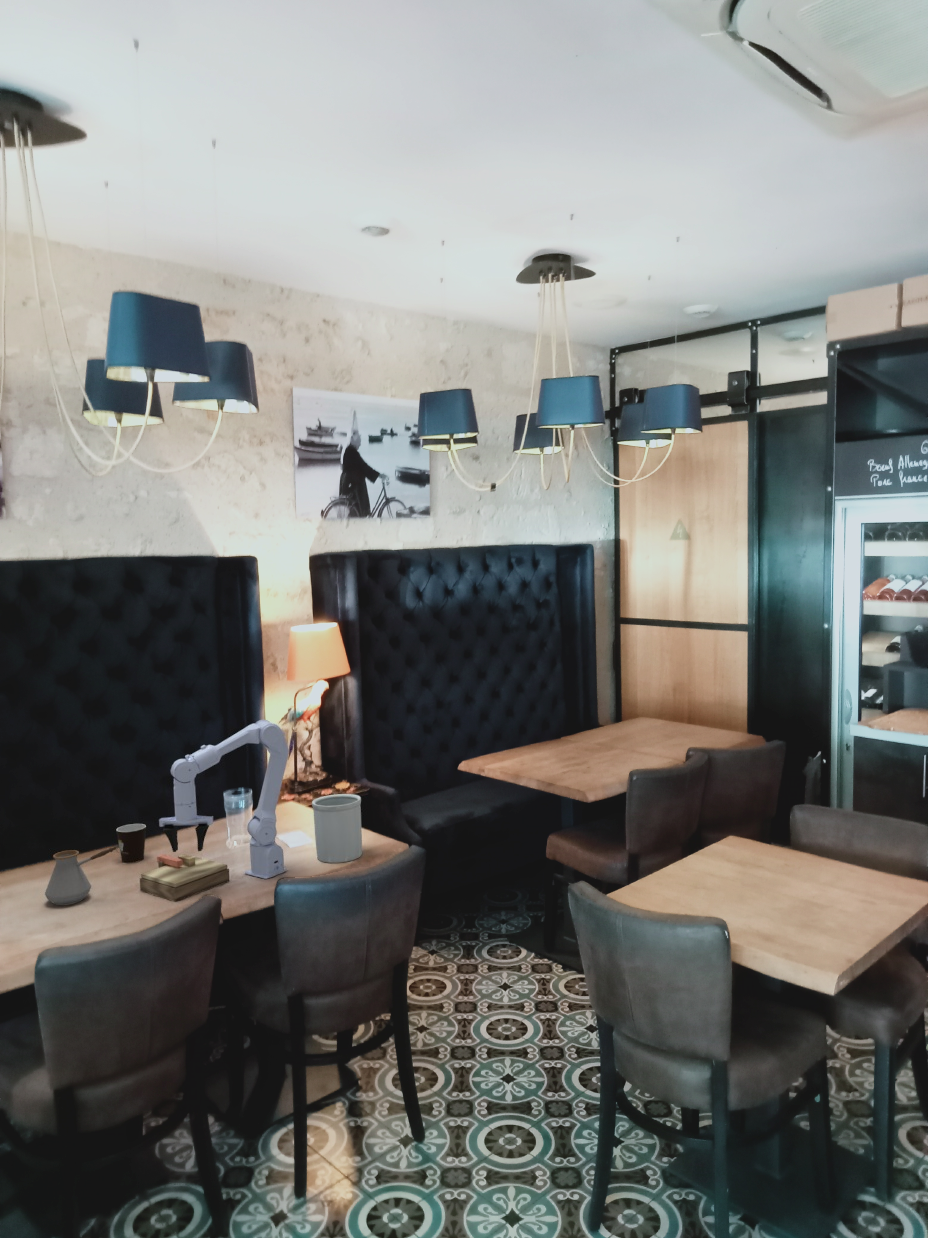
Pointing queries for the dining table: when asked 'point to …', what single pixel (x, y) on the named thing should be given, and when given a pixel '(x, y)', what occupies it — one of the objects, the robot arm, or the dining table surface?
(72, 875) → the coffee pot
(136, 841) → the coffee mug
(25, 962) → the dining table surface
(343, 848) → the utensil holder
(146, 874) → the lid
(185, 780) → the robot arm
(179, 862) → the pink bar
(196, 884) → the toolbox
